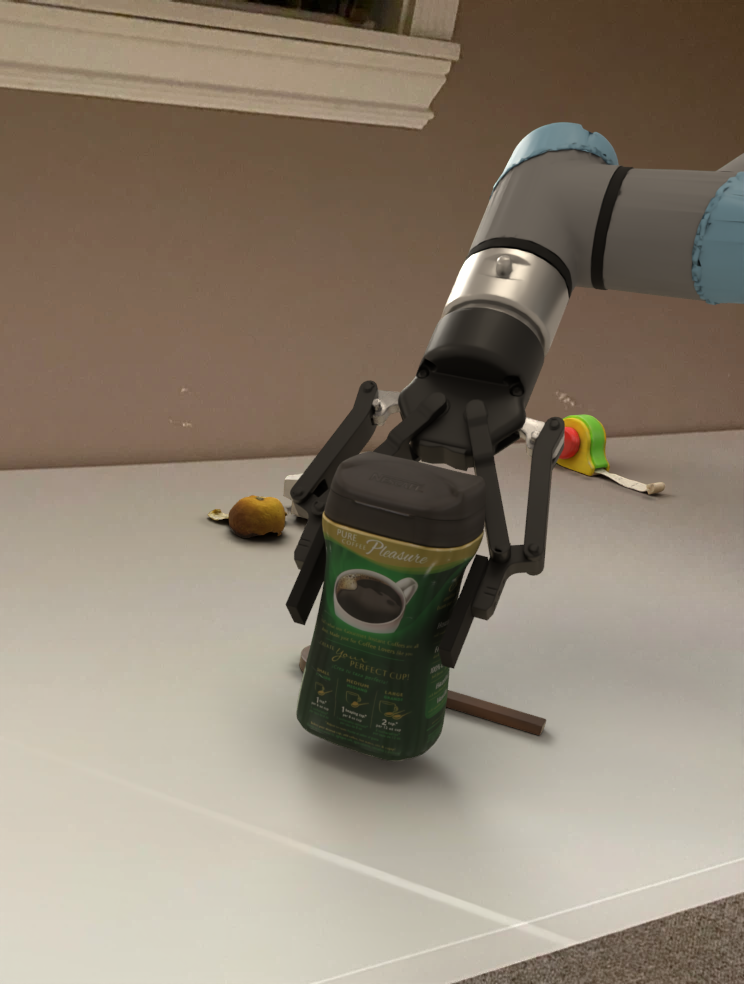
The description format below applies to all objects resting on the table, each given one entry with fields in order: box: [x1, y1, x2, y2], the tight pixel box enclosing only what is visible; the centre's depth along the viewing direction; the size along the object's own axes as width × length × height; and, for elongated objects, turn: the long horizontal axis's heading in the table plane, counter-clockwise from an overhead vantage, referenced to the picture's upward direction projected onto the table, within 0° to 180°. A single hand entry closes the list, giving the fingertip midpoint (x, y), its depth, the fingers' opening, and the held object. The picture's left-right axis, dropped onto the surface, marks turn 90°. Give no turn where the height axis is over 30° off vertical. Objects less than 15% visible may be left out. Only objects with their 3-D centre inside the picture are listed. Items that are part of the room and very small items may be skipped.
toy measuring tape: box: [556, 414, 666, 495], centre depth 141 cm, size 6×20×7 cm, turn 34°
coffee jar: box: [295, 450, 486, 762], centre depth 70 cm, size 10×8×19 cm
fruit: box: [207, 494, 288, 539], centre depth 112 cm, size 8×8×4 cm
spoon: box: [298, 644, 547, 736], centre depth 83 cm, size 19×5×1 cm, turn 61°
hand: (368, 636), depth 68 cm, fingers closed on coffee jar, 9 cm apart
